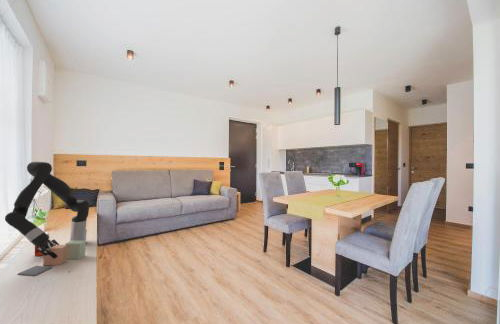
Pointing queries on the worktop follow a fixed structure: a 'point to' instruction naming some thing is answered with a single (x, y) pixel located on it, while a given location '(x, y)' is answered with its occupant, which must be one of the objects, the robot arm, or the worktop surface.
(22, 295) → the worktop surface
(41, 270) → the felt coaster
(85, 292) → the worktop surface
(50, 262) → the salmon orange block
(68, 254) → the sage green block
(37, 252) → the paper cup
